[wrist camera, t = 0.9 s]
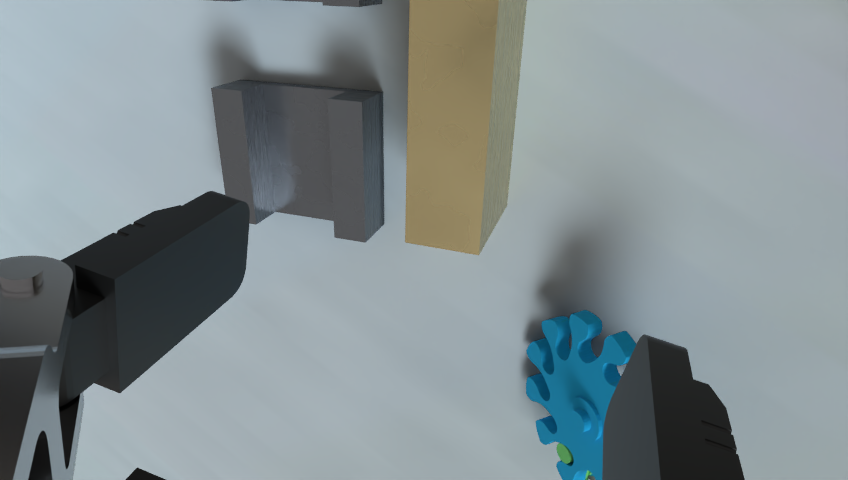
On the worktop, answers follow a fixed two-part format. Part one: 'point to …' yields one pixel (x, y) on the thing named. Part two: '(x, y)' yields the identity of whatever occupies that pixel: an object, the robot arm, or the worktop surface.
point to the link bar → (460, 118)
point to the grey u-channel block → (304, 150)
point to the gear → (576, 389)
